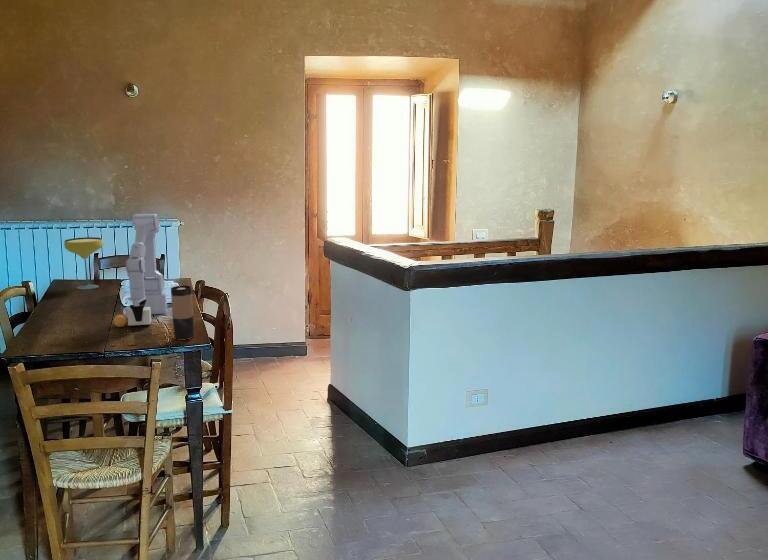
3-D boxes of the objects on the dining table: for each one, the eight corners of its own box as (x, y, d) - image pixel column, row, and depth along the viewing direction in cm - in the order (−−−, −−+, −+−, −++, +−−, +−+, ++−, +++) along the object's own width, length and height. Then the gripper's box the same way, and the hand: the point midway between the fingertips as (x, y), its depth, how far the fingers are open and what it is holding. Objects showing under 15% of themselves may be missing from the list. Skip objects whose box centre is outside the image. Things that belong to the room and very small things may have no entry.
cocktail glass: (72, 284, 370) (67, 238, 365) (108, 283, 374) (104, 236, 369) (65, 292, 353) (60, 243, 348) (103, 290, 357) (99, 241, 352)
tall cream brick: (151, 320, 294) (150, 306, 292) (150, 324, 288) (149, 310, 287) (129, 321, 292) (128, 307, 290) (128, 325, 286) (127, 311, 285)
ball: (118, 311, 289) (111, 321, 289) (117, 314, 284) (110, 324, 284) (129, 317, 291) (122, 327, 291) (128, 320, 286) (121, 330, 286)
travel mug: (198, 336, 274) (195, 286, 269) (187, 341, 266) (183, 290, 262) (181, 334, 276) (178, 285, 272) (170, 339, 269) (166, 289, 265)
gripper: (128, 284, 293) (131, 315, 295) (124, 291, 279) (127, 324, 282) (146, 283, 294) (149, 314, 297) (143, 290, 280) (145, 323, 283)
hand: (139, 319), depth 289 cm, fingers closed on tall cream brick, 6 cm apart
